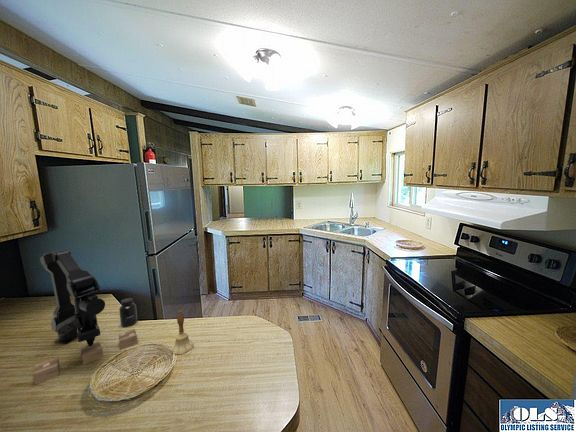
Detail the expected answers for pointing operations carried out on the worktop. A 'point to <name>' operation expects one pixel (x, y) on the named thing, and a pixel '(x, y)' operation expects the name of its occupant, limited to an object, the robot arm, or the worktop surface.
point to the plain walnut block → (91, 352)
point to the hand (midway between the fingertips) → (90, 345)
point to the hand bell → (182, 337)
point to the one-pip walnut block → (46, 370)
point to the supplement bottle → (128, 312)
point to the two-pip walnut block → (127, 339)
